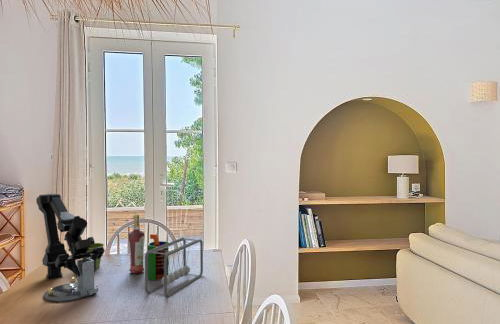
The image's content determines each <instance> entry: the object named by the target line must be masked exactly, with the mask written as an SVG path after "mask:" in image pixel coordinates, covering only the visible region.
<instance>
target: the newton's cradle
mask: <svg viewBox="0 0 500 324" xmlns="http://www.w3.org/2000/svg"><path fill="white" fill-rule="evenodd" d="M186 240H187V241H186ZM188 241H189V242H188ZM180 243H182V244H180ZM198 243H199V244H200V245H199V247H200V258H199V259H200V273H199V274H192V273H190V272H191V267H189V265H187V264H188V263H187V261H188V259H189V258H188V257H189V256H187V254H189V251H190V250H188V252H187V248H190V247H191V246H193V245H196V244H198ZM178 244H180V245H179V246H178ZM203 245H204V241H203V240H202V239H201V238H199V239H193V238H192V239H191V238H185V237H180V238H178V239H175V240H173V241H170V242H169V243H167V244H165V245H162V246H159V247H157V248H154V249H152V250H149V251H148V250H147V251H146V252H145V253H144V290H145V293H146V294H148V295H149V294H156V295H162V296H165V298H169V297H170V296H172V295H174V294H176V293H177V292H179V291H180V290H182V289H184V288H185V287H186V286H188V285H190V284H192V283H193V282H195V281H196V280H198V279H200V278H202V276H203V272H204V263H203V262H204V261H203V260H204V246H203ZM172 246H175V248H173V247H172ZM166 247H169V248H170V249H171V250H169V252H167V251H168V250H167V249H166V253H167V254H166V253H156V252H157V251H159V250H161V249H164V248H166ZM181 252H182V262H181V264H182V266H181V265H180V263H178V264H177V267H175V266H176V265H175V257H176V255H175V254H177V255H178V256H180V254H181ZM149 253H156V254H161V256H162V254H164V255H165V257H164V266H163V268H164V277H163V278H162V279H160V280H161V283H160V284H159V285H157V286H155V287H153V288H150V289H149V279H148V254H149ZM171 256H173V263H172V264H173V266H172V269H170V267H168V269H167V258H168V259H170V258H171ZM186 259H187V260H186ZM162 262H163V259H162ZM177 262H180V257H178V258H177ZM178 265H179V266H178ZM168 266H170V260H168ZM178 267H179V268H178ZM173 268H177V269H176V270H174V271H173ZM167 271H168V272H169V271H172V272H169V273H168V275H167ZM185 275H188V276H195V277H193V278H191V279H190V280H188V281H187V282H185V283H183V284H182V285H180V286H179V287H177V288H175V289H174V290H172V291H171V292H170V291H169V293H168V285H170V283H174V282H175V281H176V280H180V278H182V277H184V276H185ZM199 277H200V278H199ZM162 287H163V289H164V290H163V292H164V293H160V292H155V291H157V290H158V289H160V288H162Z"/></svg>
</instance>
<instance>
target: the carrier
mask: <svg viewBox="0 0 500 324" xmlns="http://www.w3.org/2000/svg"><path fill="white" fill-rule="evenodd" d="M69 279H70V282H69V283H68V282H66V283H65V284H60V285H57V286H54V287H48V288H47V290H46V291H45V292H44V294H43V298H44V300H45V301H47V302H52V303H66V302H73V301H74V302H75V301H78V300H82V299H84V298H87V297H89V296H90V295H85V296H82V297H81V296H79V295H76V296H75V295H74V288H77V282H76V276H71V277H70V278H69Z"/></svg>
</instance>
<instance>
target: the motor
mask: <svg viewBox="0 0 500 324" xmlns="http://www.w3.org/2000/svg"><path fill="white" fill-rule="evenodd" d="M149 239H151V240H153V241H151V242H148V243H147V251H149V250H152V249H154V248H157V247H159V246H162V245H165V244H167V243H170V242H169V241H167V240H159V236H158V234H157V233H150V235H149ZM166 249H167V250H168V251H167V252H169V251H170V250H169V249H170V246H169V247H166V248H164V249H161V250H159V251H157V252H156V253H166ZM156 253H149V254H148V281H149V280H150V281H154V282H155V281H156V280H162V278H163V277H164V268H163V266H164V257H165V255H164V254H162V256H161V254H156ZM166 254H167V253H166ZM162 259H163V262H162ZM168 261H169V257H168V258H167V269H168V271H167V275H168V274H169V265H168Z"/></svg>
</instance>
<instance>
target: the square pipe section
mask: <svg viewBox="0 0 500 324" xmlns="http://www.w3.org/2000/svg"><path fill="white" fill-rule="evenodd" d="M76 265H77V267H78V269H79V272H80V277H78V276H77V275H76V276H77V279H76V280H77V281H76V283H77V288H74V295H75V296H76V295H79V296H81V297H82V296H85V295H89V296H92V295H94V294H95V293H98V292H99V287H98V285H97V284H95V273H94V260H92V259H89V258H87V259H77V260H76Z"/></svg>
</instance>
